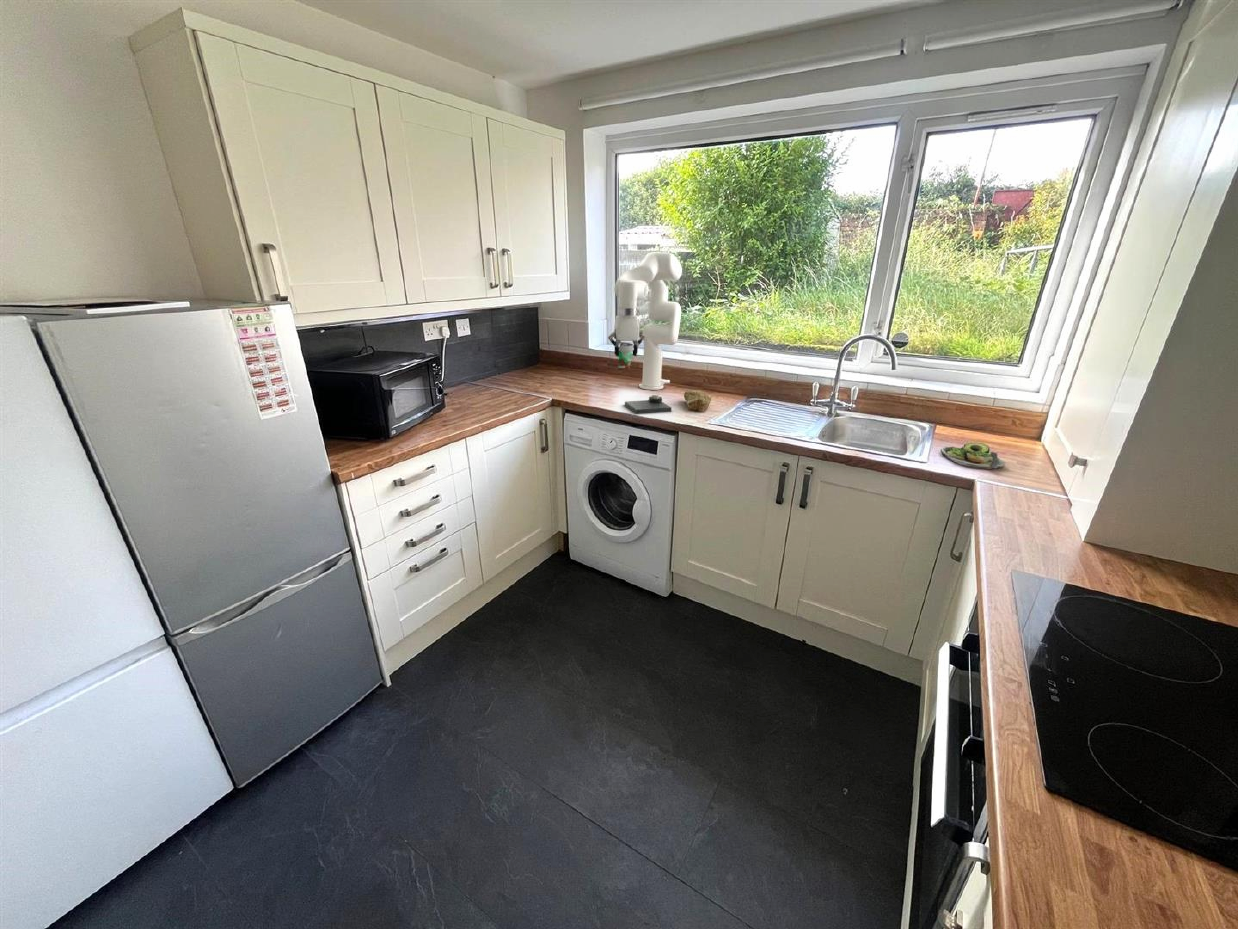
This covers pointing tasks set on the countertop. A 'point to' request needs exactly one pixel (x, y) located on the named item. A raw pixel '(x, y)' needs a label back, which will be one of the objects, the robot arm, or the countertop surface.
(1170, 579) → the countertop surface
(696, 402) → the mossy rock
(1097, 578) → the countertop surface
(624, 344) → the food container
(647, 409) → the scale
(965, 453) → the salad plate
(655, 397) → the scale button
